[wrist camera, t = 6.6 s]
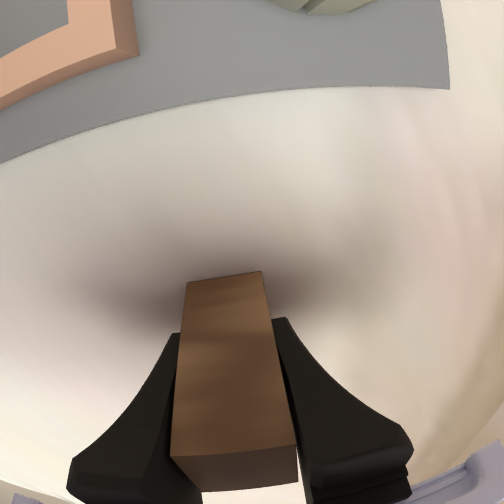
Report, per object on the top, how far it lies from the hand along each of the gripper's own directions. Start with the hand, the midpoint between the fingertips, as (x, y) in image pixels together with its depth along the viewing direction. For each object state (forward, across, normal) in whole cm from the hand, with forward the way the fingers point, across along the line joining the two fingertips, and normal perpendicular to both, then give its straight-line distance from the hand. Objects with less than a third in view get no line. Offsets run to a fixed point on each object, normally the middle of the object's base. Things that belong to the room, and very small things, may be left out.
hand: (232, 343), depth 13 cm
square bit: (+2, 0, 0) cm, 2 cm away
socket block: (+2, 0, -14) cm, 15 cm away
